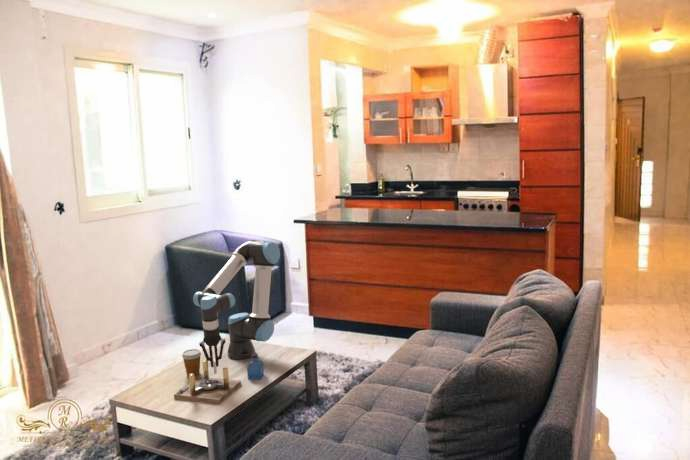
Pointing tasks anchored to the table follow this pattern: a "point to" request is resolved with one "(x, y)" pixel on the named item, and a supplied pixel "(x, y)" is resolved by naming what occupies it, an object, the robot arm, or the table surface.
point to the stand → (207, 396)
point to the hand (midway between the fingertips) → (215, 372)
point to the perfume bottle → (255, 368)
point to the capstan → (208, 381)
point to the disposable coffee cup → (192, 361)
